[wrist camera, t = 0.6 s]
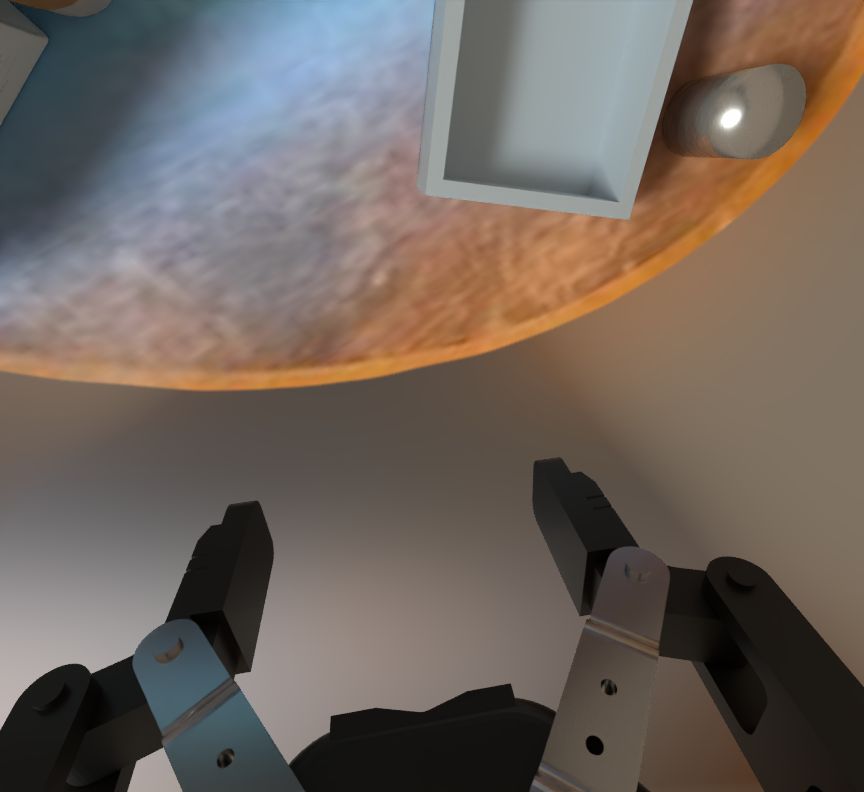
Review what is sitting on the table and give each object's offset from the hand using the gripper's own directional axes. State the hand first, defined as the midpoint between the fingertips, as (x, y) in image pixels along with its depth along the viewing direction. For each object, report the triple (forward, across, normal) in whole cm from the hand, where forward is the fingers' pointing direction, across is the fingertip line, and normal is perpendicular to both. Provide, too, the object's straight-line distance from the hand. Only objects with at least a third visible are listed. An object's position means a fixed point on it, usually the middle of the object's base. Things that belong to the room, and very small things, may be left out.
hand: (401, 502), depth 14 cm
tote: (+27, -12, -13) cm, 32 cm away
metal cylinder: (+27, -25, -8) cm, 38 cm away
